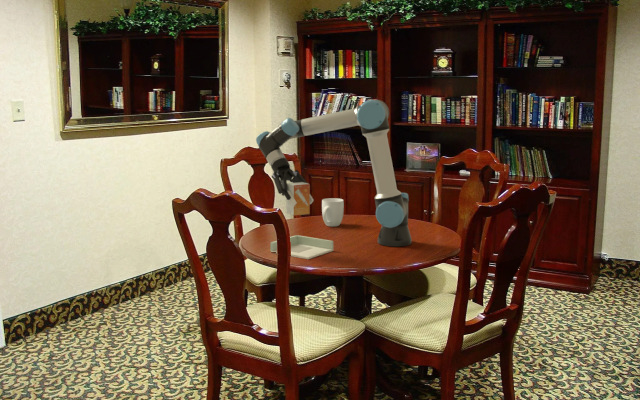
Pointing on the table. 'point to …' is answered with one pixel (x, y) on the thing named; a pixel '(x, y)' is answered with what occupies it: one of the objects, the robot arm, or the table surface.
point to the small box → (299, 198)
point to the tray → (306, 246)
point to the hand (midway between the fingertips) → (303, 203)
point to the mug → (332, 211)
